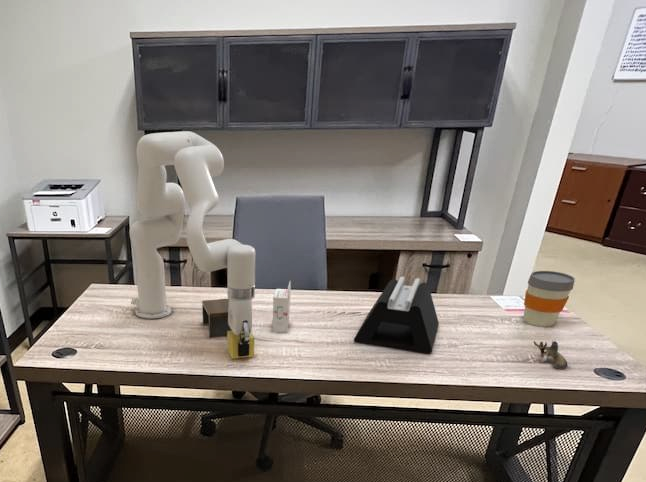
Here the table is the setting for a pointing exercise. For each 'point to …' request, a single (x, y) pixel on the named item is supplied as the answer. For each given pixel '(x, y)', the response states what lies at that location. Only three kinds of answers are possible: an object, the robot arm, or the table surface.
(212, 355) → the table surface
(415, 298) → the device stand
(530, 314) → the reusable coffee cup
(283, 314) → the ink cartridge box
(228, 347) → the sticky-note cube
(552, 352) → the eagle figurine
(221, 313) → the stand
